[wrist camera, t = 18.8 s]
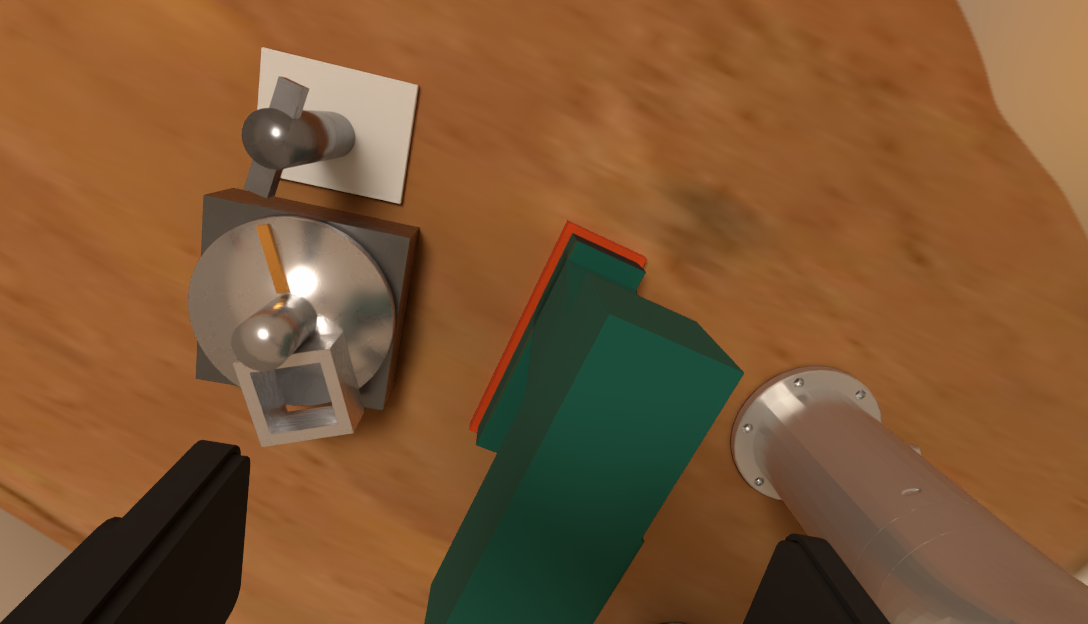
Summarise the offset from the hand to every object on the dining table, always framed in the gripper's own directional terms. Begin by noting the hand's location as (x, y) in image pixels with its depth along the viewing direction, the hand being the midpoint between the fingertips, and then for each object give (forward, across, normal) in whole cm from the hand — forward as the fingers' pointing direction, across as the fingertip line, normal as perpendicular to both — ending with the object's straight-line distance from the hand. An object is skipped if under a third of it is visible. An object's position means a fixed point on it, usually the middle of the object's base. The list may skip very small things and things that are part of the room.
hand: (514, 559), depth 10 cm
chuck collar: (+29, +13, +8) cm, 33 cm away
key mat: (+33, +13, -4) cm, 36 cm away
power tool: (+34, -4, +15) cm, 37 cm away
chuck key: (+33, +13, -4) cm, 35 cm away
